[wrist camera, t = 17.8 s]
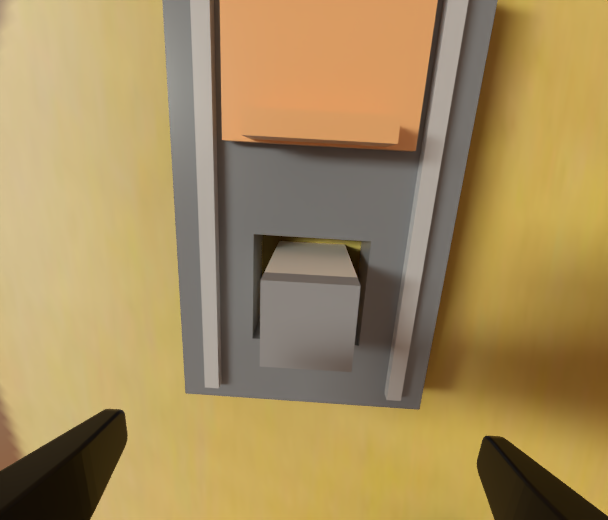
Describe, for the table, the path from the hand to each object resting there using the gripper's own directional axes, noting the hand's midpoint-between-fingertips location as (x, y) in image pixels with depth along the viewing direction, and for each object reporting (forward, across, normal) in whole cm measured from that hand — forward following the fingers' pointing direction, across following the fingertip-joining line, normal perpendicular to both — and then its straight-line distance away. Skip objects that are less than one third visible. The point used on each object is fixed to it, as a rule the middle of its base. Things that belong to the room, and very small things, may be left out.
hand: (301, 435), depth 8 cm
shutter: (+9, 0, -12) cm, 15 cm away
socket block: (+12, 0, -4) cm, 13 cm away
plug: (+12, 0, 0) cm, 12 cm away
